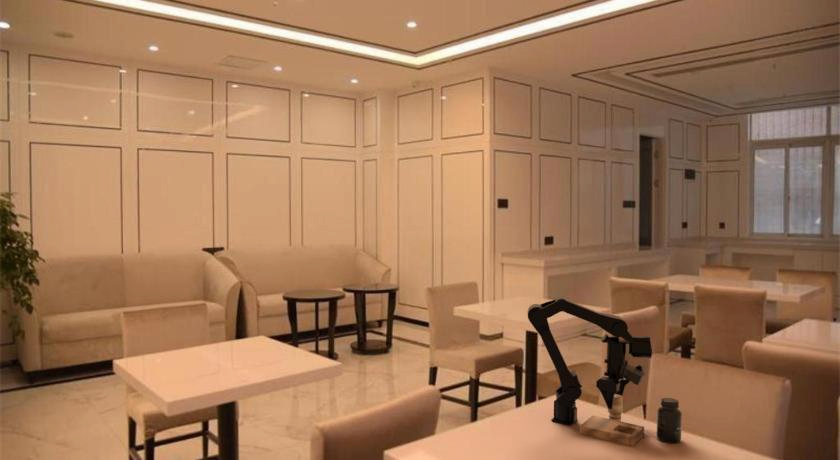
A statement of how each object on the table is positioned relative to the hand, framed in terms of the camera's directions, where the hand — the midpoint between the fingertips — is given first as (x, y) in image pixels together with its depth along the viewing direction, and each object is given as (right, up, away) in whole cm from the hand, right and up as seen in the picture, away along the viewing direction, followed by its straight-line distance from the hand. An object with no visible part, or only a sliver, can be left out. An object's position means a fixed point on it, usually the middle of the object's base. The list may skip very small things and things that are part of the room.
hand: (614, 404), depth 189 cm
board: (-4, -7, -8) cm, 11 cm away
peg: (0, -6, 0) cm, 6 cm away
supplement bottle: (+12, -7, -12) cm, 18 cm away
